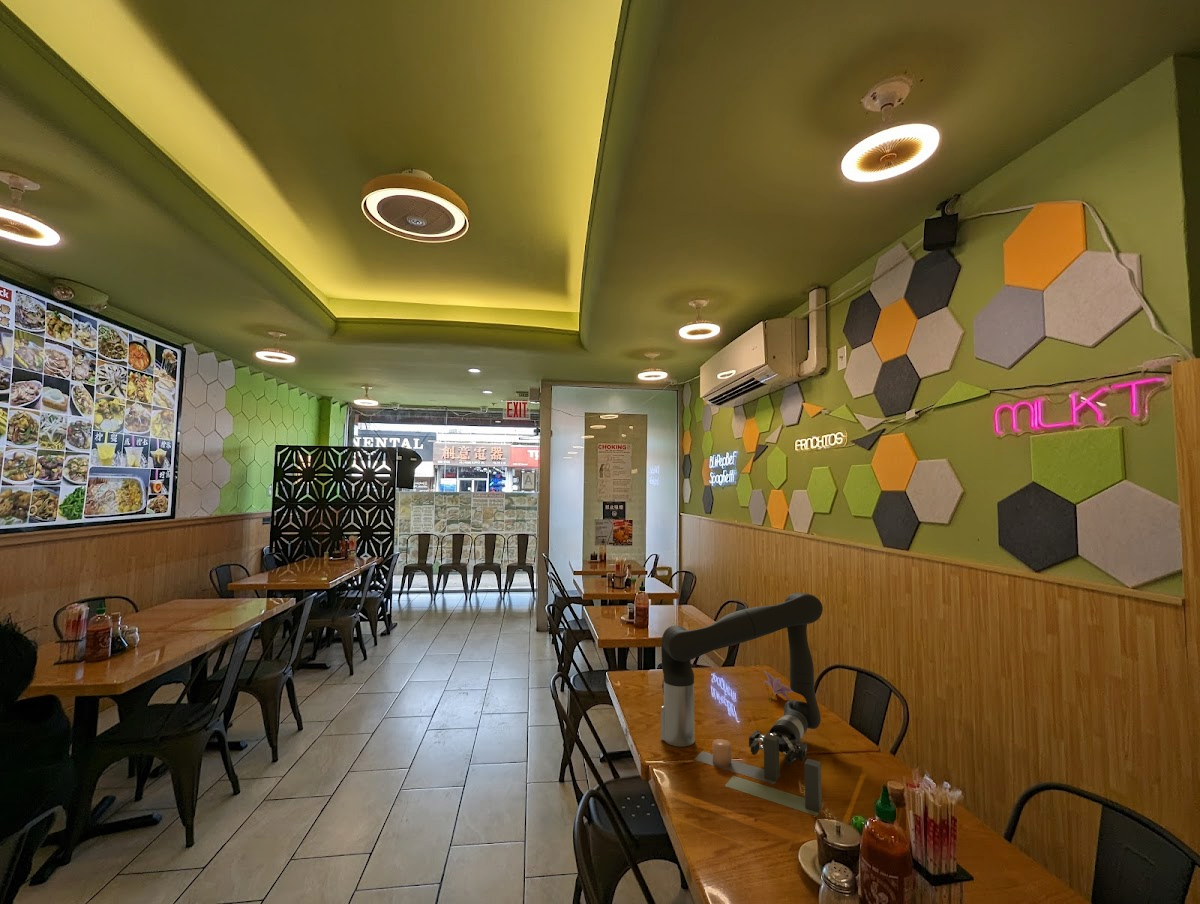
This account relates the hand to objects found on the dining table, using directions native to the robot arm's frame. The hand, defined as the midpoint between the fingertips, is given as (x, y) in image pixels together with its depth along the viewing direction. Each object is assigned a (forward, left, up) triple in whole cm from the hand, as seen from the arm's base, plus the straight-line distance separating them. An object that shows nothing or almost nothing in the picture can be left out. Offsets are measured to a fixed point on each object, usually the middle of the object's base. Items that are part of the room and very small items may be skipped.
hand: (769, 755), depth 137 cm
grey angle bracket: (+3, -6, -7) cm, 10 cm away
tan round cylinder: (-13, +2, -6) cm, 15 cm away
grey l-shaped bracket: (-9, +2, -7) cm, 12 cm away
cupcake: (-45, +38, -8) cm, 60 cm away
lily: (-16, +61, -8) cm, 64 cm away
